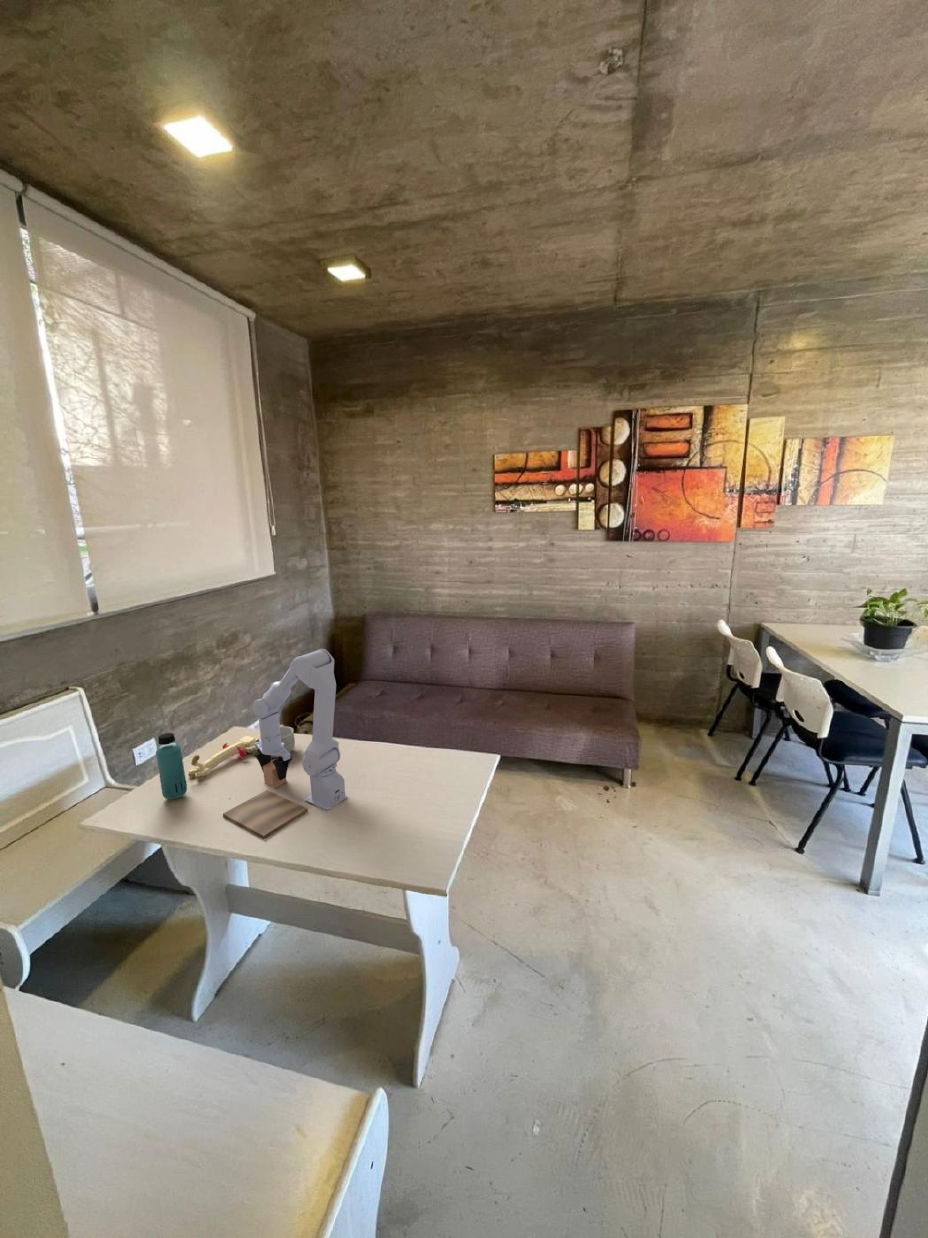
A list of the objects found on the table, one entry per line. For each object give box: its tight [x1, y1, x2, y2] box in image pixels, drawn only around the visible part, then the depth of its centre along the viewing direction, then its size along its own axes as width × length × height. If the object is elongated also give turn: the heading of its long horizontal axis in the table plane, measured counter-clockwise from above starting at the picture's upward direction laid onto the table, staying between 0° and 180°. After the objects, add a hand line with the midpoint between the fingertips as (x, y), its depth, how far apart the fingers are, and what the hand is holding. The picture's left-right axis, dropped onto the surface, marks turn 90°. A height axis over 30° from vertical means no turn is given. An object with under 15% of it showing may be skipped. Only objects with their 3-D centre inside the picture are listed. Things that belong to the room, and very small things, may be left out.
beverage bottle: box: [155, 732, 188, 800], centre depth 142 cm, size 6×7×20 cm
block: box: [262, 761, 287, 789], centre depth 151 cm, size 4×4×6 cm
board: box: [222, 789, 309, 840], centre depth 135 cm, size 18×14×1 cm
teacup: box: [259, 724, 296, 759], centre depth 171 cm, size 14×11×8 cm
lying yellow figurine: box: [187, 735, 260, 782], centre depth 164 cm, size 10×9×25 cm
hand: (274, 775), depth 151 cm, fingers open, 7 cm apart
